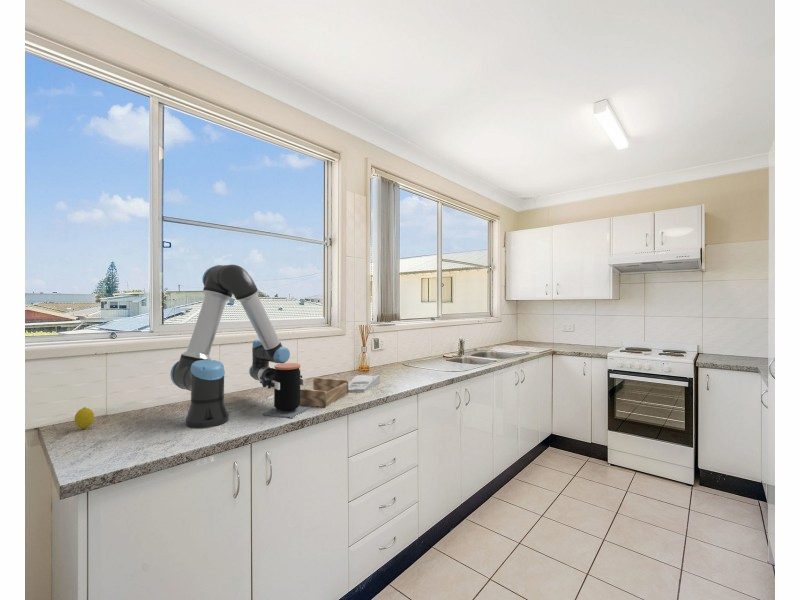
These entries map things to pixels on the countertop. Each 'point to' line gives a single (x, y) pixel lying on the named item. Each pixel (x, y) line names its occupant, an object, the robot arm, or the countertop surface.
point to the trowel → (363, 383)
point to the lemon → (84, 418)
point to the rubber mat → (286, 412)
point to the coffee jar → (287, 386)
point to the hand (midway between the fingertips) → (291, 384)
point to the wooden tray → (324, 392)
